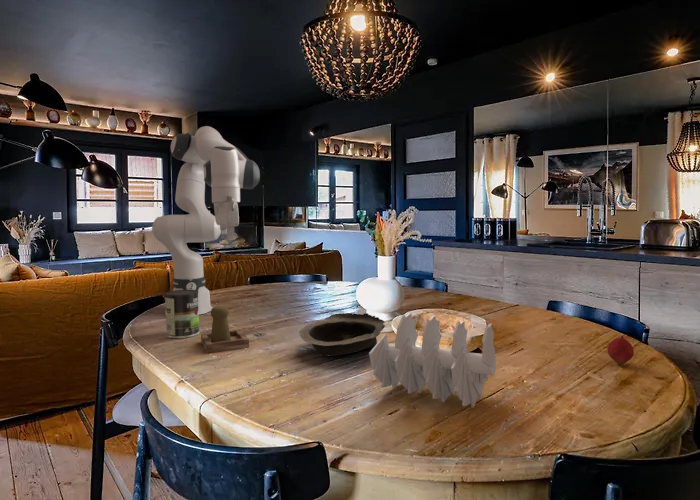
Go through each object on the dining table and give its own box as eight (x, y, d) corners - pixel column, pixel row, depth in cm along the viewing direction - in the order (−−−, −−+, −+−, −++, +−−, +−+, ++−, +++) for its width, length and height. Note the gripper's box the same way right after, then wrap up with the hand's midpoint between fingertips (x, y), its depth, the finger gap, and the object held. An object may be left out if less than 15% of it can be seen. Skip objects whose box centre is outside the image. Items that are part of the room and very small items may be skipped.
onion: (601, 362, 118) (603, 333, 118) (617, 359, 120) (618, 330, 120) (622, 369, 113) (623, 338, 112) (638, 366, 115) (639, 336, 114)
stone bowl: (392, 341, 138) (392, 312, 136) (374, 376, 114) (374, 341, 113) (316, 334, 144) (315, 306, 143) (285, 365, 121) (284, 333, 119)
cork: (231, 344, 133) (230, 307, 132) (210, 346, 131) (209, 309, 130) (230, 338, 138) (229, 303, 137) (210, 340, 136) (208, 305, 135)
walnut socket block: (201, 342, 138) (200, 334, 138) (240, 337, 144) (240, 329, 143) (207, 353, 128) (207, 344, 127) (249, 347, 133) (248, 339, 133)
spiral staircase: (393, 395, 108) (500, 414, 95) (359, 387, 94) (479, 407, 81) (404, 321, 114) (506, 329, 101) (373, 302, 99) (487, 309, 87)
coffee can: (205, 330, 151) (204, 289, 150) (188, 339, 141) (187, 295, 140) (178, 329, 153) (176, 288, 152) (159, 337, 143) (157, 294, 142)
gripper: (243, 196, 136) (244, 241, 137) (229, 197, 154) (230, 237, 156) (222, 195, 133) (223, 242, 135) (210, 197, 152) (212, 238, 153)
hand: (227, 239), depth 145 cm, fingers open, 8 cm apart
